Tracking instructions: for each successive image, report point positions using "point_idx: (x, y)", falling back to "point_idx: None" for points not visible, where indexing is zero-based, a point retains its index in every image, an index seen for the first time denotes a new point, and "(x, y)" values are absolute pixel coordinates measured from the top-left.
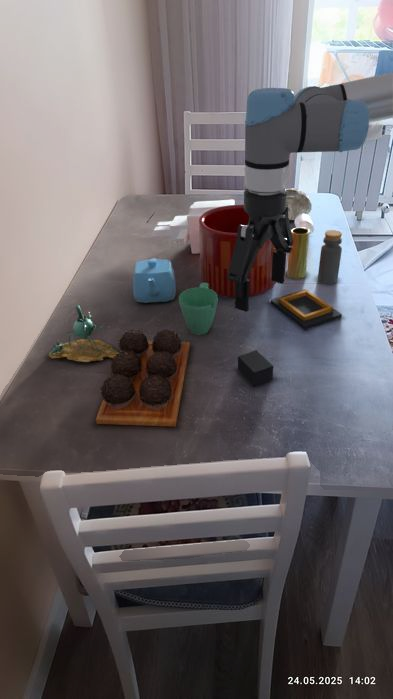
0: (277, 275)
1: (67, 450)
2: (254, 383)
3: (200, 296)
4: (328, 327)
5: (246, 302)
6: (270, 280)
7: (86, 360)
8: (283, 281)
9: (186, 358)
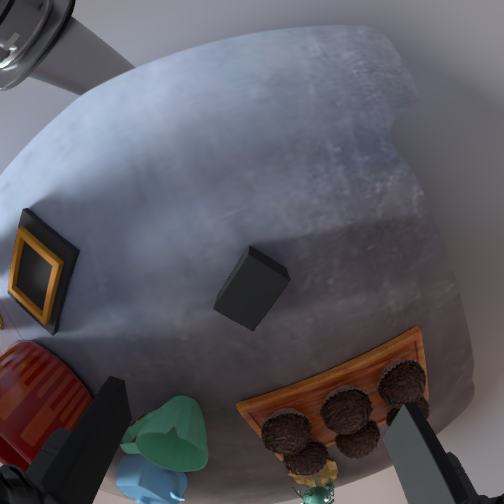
0: (115, 422)
1: (457, 386)
2: (286, 270)
3: (150, 443)
4: (54, 215)
5: (431, 430)
6: (27, 352)
7: (333, 463)
8: (113, 383)
9: (279, 395)
